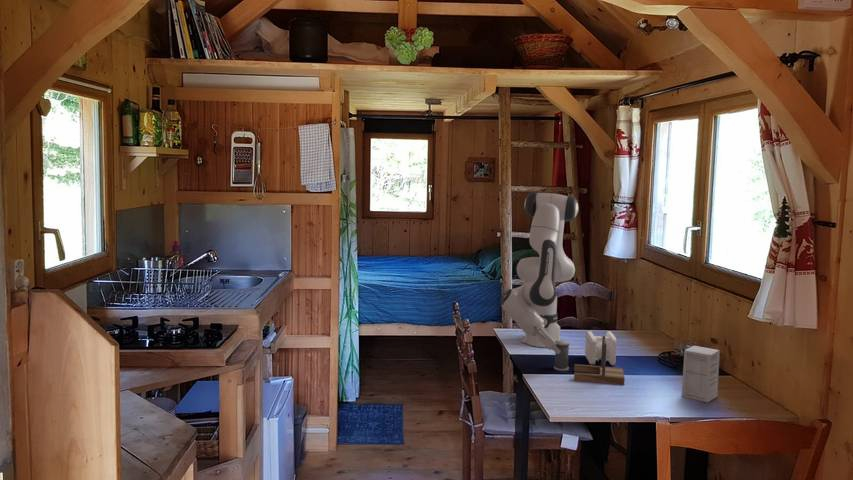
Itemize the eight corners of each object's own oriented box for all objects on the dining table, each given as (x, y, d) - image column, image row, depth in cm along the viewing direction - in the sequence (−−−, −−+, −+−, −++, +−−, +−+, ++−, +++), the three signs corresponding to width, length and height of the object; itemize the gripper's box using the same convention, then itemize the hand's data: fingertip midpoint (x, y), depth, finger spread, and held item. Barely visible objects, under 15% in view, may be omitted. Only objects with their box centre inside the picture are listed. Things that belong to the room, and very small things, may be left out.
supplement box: (717, 396, 241) (721, 350, 240) (708, 403, 235) (711, 355, 233) (690, 390, 248) (693, 344, 246) (680, 396, 241) (683, 349, 239)
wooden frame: (574, 370, 269) (575, 333, 267) (621, 374, 265) (624, 337, 263) (574, 380, 256) (575, 342, 254) (624, 384, 252) (626, 346, 251)
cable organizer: (616, 368, 273) (617, 339, 272) (589, 366, 274) (590, 338, 273) (608, 357, 288) (610, 330, 287) (583, 356, 289) (584, 329, 288)
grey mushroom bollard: (553, 365, 274) (555, 339, 273) (568, 367, 273) (570, 340, 272) (553, 370, 268) (554, 343, 267) (568, 371, 267) (569, 344, 266)
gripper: (543, 325, 258) (568, 351, 259) (533, 313, 278) (556, 337, 279) (531, 336, 258) (556, 362, 259) (522, 324, 278) (545, 348, 280)
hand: (556, 349), depth 270 cm, fingers open, 8 cm apart
